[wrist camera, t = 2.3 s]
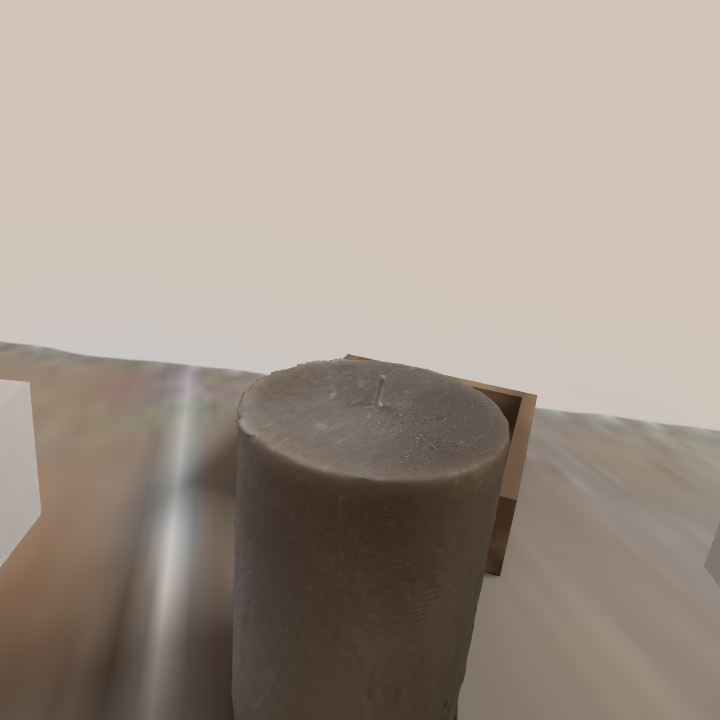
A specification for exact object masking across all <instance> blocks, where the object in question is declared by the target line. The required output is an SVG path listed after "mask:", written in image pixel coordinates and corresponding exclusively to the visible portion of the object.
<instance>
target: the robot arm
mask: <svg viewBox="0 0 720 720" xmlns="http://www.w3.org/2000/svg"><path fill="white" fill-rule="evenodd" d="M40 515H41V506H40V495H39V484H38V473H37V462H36V451H35V440H34V429H33V418H32V407H31V396H30V385H29V382H23V381H12V380H1V379H0V567H1V566H2V564H3V563H4V562H5V561H6V559H7V558H8V557H9V555H10V554H11V553H12V551H13V550H14V549H15V548H16V546H17V545H18V544H19V542H20V541H21V540H22V538H23V537H24V536H25V534H26V533H27V532H28V531H29V529H30V528H31V527H32V525H33V524H34V523H35V521H36V520H37V519H38V518H39V516H40ZM704 567H705V568H706V569H707V571H708V572H709V573H710V574H711V576H712V577H713V578H714V580H715V581H716V582H717V583H718V585H719V586H720V524H719V526H718V529H717V532H716V534H715V537H714V540H713V542H712V545H711V548H710V550H709V553H708V556H707V558H706V561H705V563H704Z"/></svg>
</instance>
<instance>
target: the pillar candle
mask: <svg viewBox="0 0 720 720" xmlns="http://www.w3.org/2000/svg"><path fill="white" fill-rule="evenodd" d="M237 416H238V421H236V422H237V423H238V442H237V482H236V498H237V505H236V506H237V508H236V516H235V521H234V525H235V532H236V534H235V563H234V597H233V657H232V685H231V693H232V701H233V711H234V720H457V712H458V709H457V707H458V696H459V691H460V687H461V684H462V683H463V680H464V679H463V678H464V676H465V672H466V664H467V663H466V661H467V656H468V652H469V648H470V643H471V639H472V632H473V629H474V619H475V614H476V611H477V603H478V600H479V595H480V591H481V587H482V582H483V577H484V573H485V566H486V560H487V553H488V549H489V544H490V540H491V537H492V531H493V527H494V523H495V519H496V512H497V506H498V501H499V496H500V491H501V486H502V481H503V475H504V468H505V461H506V457H507V455H508V450H509V445H510V435H509V423H508V421H507V419H506V418H505V416H504V415H503V413H502V411H501V410H500V408H499V407H498V406H497V405H496V404H495V403H494V402H493V401H492V400H491V399H490V398H488V397H487V396H485V395H484V394H483V393H482V392H480V391H478V390H476V389H475V388H473V387H471V386H470V385H467V384H464V383H463V382H460V381H457V380H455V379H453V378H450V377H448V376H445V375H442V374H439V373H437V372H433V371H430V370H427V369H422V368H417V367H412V366H407V365H403V364H397V363H396V364H394V363H388V362H381V361H372V360H369V361H365V360H346V359H335V360H330V361H313V362H307V363H305V364H298V365H297V366H296V367H293V368H290V369H286V370H281V371H275V372H272V373H271V375H269V376H265V377H263V378H260V379H258V380H257V381H256V383H254V384H253V385H252V386H251V387H250V388H249V390H248V391H247V392H244V393H243V394H242V398H241V400H240V402H239V406H238V408H237Z"/></svg>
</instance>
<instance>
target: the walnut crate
mask: <svg viewBox="0 0 720 720" xmlns="http://www.w3.org/2000/svg"><path fill="white" fill-rule="evenodd" d="M343 359H346V360H365V361H369V360H372V359H368V358H363V357H358V356H354V355H349V354H348V355H347V356H346V357H344V358H343ZM372 361H377V360H372ZM381 362H382V361H381ZM445 376H446V375H445ZM448 377H450V378H453V379H455V380H457V381H460V382H463V383H464V384H467V385H470V386H471V387H473V388H475V389H476V390H478V391H480V392H482V393H483V394H484V395H485V396H487V397H488V398H490V399H491V400H492V401H493V402H494V403H495V404H496V405H497V406H498V407H499V408H500V410H501V411H502V413H503V415H504V416H505V418H506V419H507V421H508V423H509V435H510V445H509V450H508V455H507V457H506V461H505V468H504V475H503V481H502V486H501V491H500V496H499V501H498V506H497V512H496V519H495V523H494V527H493V531H492V537H491V540H490V544H489V549H488V553H487V560H486V566H485V571H486V572H489V573H492V574H496V575H499V576H500V573H501V569H502V564H503V560H504V555H505V551H506V546H507V542H508V537H509V533H510V529H511V524H512V520H513V515H514V511H515V506H516V502H517V497H518V492H519V487H520V481H521V476H522V471H523V466H524V461H525V456H526V451H527V446H528V440H529V435H530V430H531V425H532V420H533V415H534V410H535V404H536V399H537V395H534V394H529V393H524V392H520V391H515V390H510V389H505V388H501V387H496V386H492V385H487V384H483V383H478V382H474V381H469V380H464V379H460V378H455V377H451V376H448Z"/></svg>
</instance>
